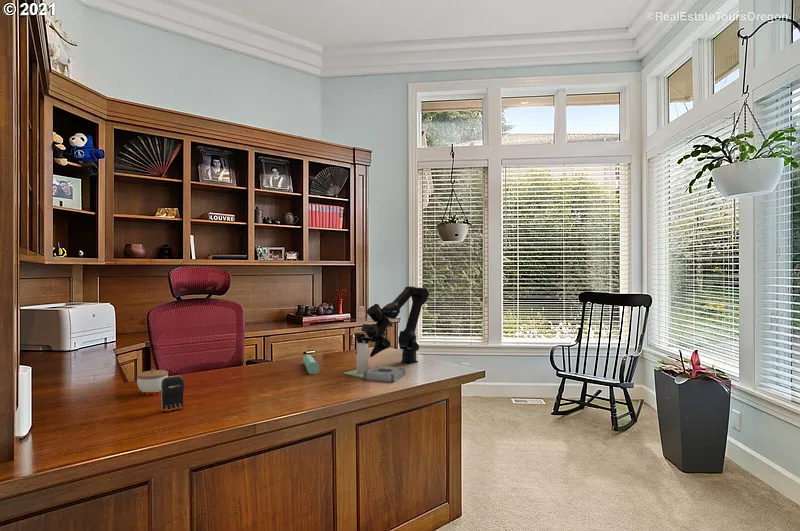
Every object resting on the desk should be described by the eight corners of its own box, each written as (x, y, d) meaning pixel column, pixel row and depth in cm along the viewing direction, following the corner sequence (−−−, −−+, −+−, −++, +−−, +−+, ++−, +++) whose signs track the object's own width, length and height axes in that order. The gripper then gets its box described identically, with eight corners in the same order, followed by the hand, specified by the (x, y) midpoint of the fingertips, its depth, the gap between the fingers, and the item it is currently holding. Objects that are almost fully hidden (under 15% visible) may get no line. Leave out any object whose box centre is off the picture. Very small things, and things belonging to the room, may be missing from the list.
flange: (376, 372, 215) (376, 366, 215) (405, 374, 210) (405, 368, 210) (363, 379, 201) (363, 372, 201) (394, 382, 197) (394, 375, 197)
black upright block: (163, 413, 156) (163, 379, 156) (160, 411, 159) (160, 377, 159) (185, 409, 161) (185, 376, 161) (182, 407, 164) (182, 374, 164)
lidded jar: (132, 393, 182) (132, 369, 182) (161, 387, 190) (161, 364, 190) (142, 398, 175) (142, 373, 175) (172, 392, 183) (172, 368, 183)
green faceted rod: (304, 351, 236) (309, 360, 213) (315, 355, 238) (321, 364, 214) (299, 362, 236) (304, 372, 212) (310, 366, 237) (317, 376, 213)
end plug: (367, 370, 216) (367, 342, 216) (369, 373, 211) (369, 344, 211) (356, 371, 215) (356, 343, 215) (358, 374, 210) (357, 344, 210)
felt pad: (363, 369, 221) (363, 368, 221) (381, 373, 213) (381, 372, 213) (343, 373, 213) (343, 372, 213) (362, 377, 204) (362, 376, 204)
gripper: (357, 316, 223) (340, 342, 215) (385, 318, 211) (368, 346, 203) (369, 330, 229) (353, 356, 221) (397, 334, 217) (381, 362, 209)
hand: (363, 355), depth 213 cm, fingers open, 9 cm apart
